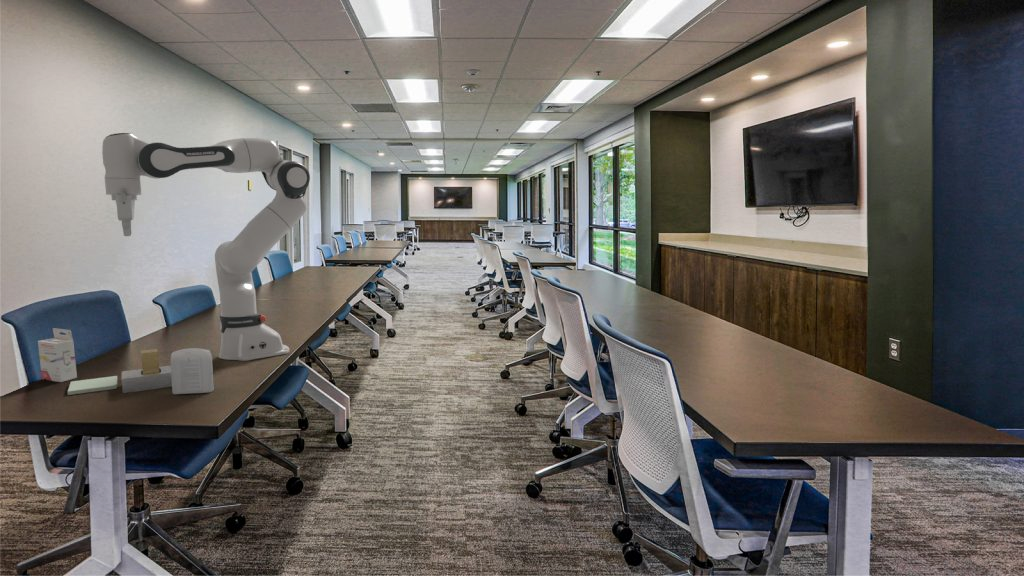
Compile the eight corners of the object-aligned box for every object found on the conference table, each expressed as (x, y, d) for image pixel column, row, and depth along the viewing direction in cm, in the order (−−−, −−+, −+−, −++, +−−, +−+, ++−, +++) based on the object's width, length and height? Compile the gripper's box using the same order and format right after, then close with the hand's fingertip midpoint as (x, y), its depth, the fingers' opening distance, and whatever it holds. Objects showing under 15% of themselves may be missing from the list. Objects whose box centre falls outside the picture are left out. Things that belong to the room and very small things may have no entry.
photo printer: (215, 388, 165) (213, 345, 164) (211, 393, 161) (208, 349, 160) (175, 391, 163) (172, 347, 161) (170, 396, 159) (166, 351, 157)
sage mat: (117, 379, 175) (117, 375, 174) (116, 388, 165) (116, 385, 165) (71, 384, 169) (70, 381, 169) (67, 395, 160) (67, 391, 159)
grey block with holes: (194, 375, 178) (193, 362, 178) (196, 382, 171) (195, 369, 170) (123, 385, 169) (121, 371, 168) (122, 393, 161) (121, 378, 161)
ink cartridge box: (40, 379, 174) (35, 330, 172) (58, 375, 178) (53, 327, 177) (60, 382, 171) (55, 332, 169) (78, 378, 176) (73, 329, 174)
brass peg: (159, 382, 171) (157, 348, 170) (160, 385, 168) (157, 351, 167) (143, 384, 169) (140, 350, 168) (144, 388, 166) (141, 353, 165)
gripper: (135, 188, 168) (140, 236, 170) (136, 189, 185) (140, 234, 187) (109, 187, 165) (113, 237, 167) (112, 189, 182) (116, 234, 184)
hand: (127, 235), depth 177 cm, fingers open, 8 cm apart
